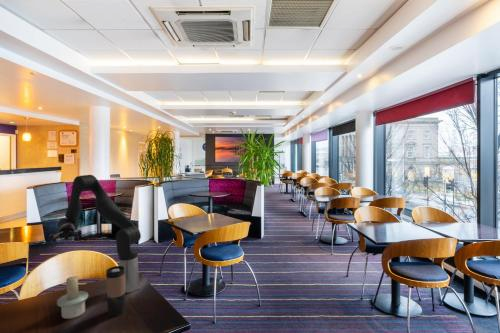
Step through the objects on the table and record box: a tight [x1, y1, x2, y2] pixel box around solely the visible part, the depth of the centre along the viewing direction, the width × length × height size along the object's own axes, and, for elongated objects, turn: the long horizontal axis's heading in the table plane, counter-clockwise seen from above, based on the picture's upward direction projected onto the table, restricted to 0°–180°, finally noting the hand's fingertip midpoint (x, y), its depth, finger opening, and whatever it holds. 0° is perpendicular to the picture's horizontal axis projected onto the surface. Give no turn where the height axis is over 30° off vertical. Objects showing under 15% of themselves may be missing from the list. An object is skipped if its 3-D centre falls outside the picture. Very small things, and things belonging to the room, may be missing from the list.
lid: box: [56, 275, 89, 308], centre depth 125 cm, size 12×12×10 cm
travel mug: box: [105, 265, 126, 317], centre depth 125 cm, size 8×8×20 cm
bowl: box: [60, 300, 86, 320], centre depth 125 cm, size 9×9×6 cm
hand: (65, 239), depth 138 cm, fingers open, 8 cm apart
